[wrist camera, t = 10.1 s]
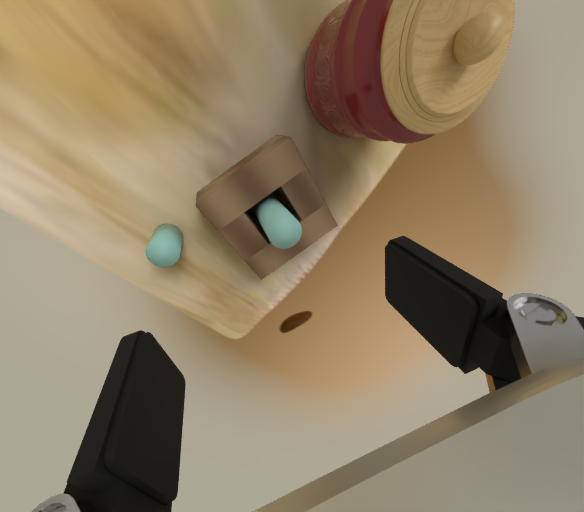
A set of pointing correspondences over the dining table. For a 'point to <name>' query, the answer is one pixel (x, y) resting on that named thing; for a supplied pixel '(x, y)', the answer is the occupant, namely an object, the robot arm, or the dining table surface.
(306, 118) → the dining table surface
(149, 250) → the short dowel
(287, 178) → the socket block
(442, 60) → the canister
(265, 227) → the tall dowel
